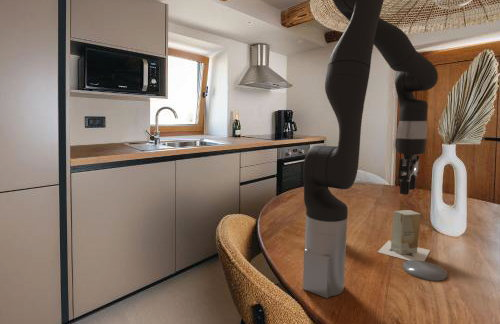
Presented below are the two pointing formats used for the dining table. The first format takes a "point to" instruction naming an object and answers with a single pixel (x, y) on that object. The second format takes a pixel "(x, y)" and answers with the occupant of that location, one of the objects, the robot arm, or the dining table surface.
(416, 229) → the skincare box
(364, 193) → the dining table surface
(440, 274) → the slate coaster
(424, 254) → the card
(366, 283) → the dining table surface
